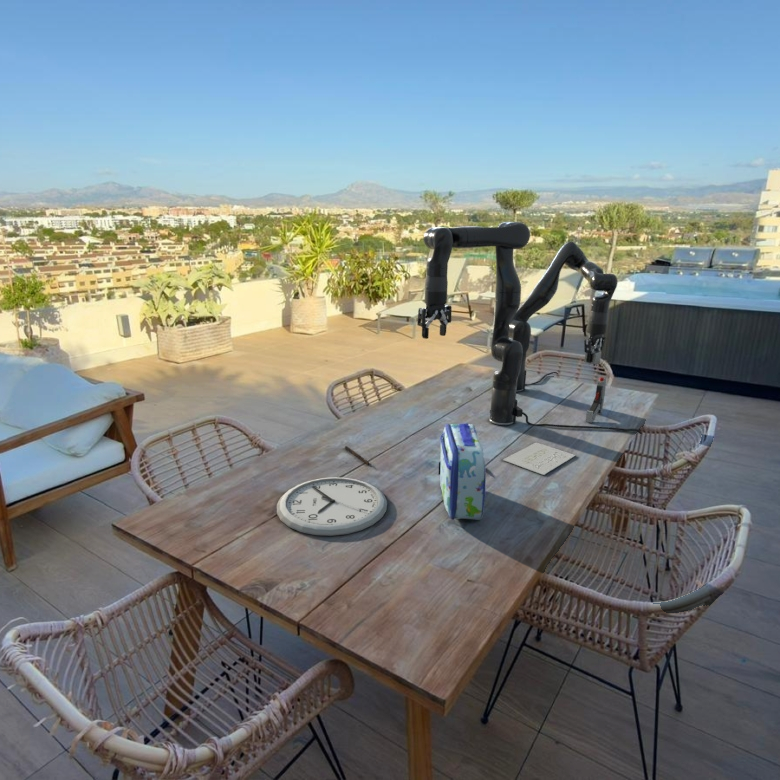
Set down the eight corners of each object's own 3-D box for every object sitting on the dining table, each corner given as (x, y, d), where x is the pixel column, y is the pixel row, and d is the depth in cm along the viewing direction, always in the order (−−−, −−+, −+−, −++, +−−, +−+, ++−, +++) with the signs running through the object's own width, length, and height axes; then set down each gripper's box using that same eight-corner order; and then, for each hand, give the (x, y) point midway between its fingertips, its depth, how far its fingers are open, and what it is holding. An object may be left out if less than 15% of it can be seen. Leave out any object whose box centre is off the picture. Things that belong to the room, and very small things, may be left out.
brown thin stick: (344, 448, 179) (344, 445, 179) (346, 448, 179) (346, 445, 179) (367, 464, 167) (367, 462, 167) (368, 464, 167) (368, 461, 167)
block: (584, 362, 225) (585, 351, 223) (589, 360, 228) (590, 349, 226) (594, 364, 221) (596, 353, 220) (599, 362, 224) (601, 351, 223)
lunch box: (436, 479, 158) (439, 414, 152) (472, 480, 158) (476, 415, 152) (443, 526, 133) (448, 451, 127) (486, 527, 133) (492, 452, 127)
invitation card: (535, 442, 186) (575, 454, 176) (535, 442, 187) (575, 455, 176) (502, 459, 172) (543, 474, 162) (502, 460, 172) (543, 475, 162)
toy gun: (589, 386, 202) (601, 375, 213) (585, 424, 208) (596, 411, 219) (595, 387, 201) (607, 376, 212) (591, 425, 207) (602, 412, 218)
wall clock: (392, 527, 129) (268, 531, 127) (391, 533, 130) (269, 537, 127) (383, 473, 158) (282, 475, 155) (383, 478, 158) (282, 480, 156)
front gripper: (429, 292, 168) (427, 341, 173) (458, 289, 177) (456, 336, 182) (413, 289, 174) (411, 337, 179) (442, 287, 183) (440, 332, 188)
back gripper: (597, 325, 212) (591, 365, 217) (614, 321, 221) (608, 361, 226) (580, 322, 218) (575, 362, 223) (597, 319, 227) (592, 357, 232)
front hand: (434, 336), depth 180 cm, fingers open, 8 cm apart
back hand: (592, 361), depth 224 cm, fingers closed on block, 4 cm apart
